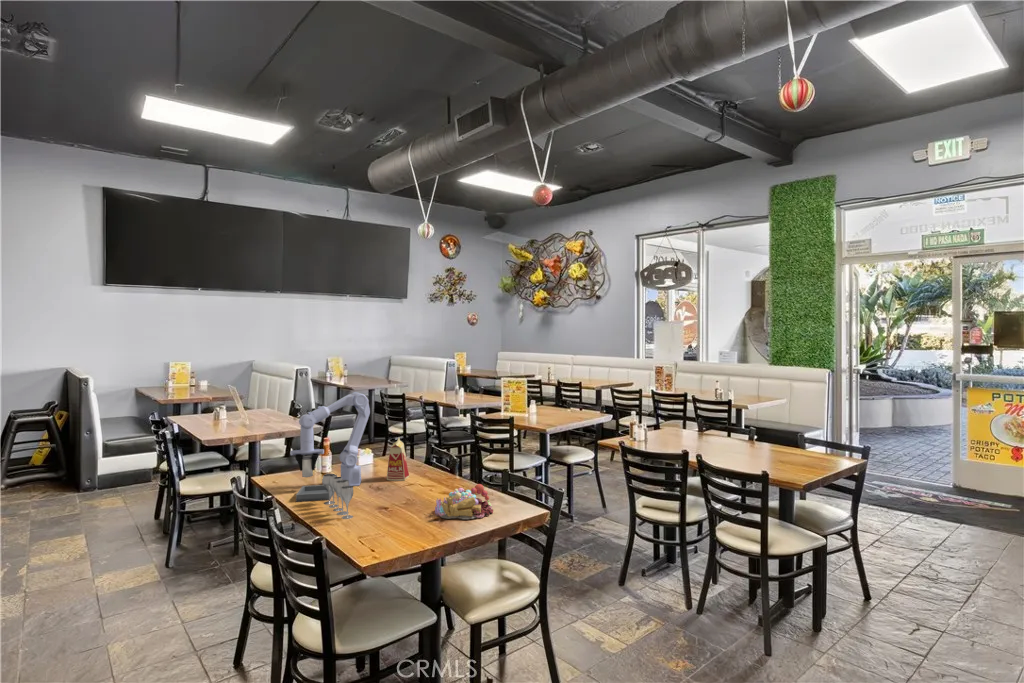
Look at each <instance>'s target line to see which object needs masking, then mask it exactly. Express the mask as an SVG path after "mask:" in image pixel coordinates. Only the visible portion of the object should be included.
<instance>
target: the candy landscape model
mask: <svg viewBox="0 0 1024 683" xmlns="http://www.w3.org/2000/svg"><path fill="white" fill-rule="evenodd" d="M453 490H454V491H451V492H449V493H448V496H446V497H444V498H443V500H442V499H441V497H440V498H438V497H437V498H436V501H435V502H436V505H435V507H434V513H435V515H436V517H438V516H439V517H440V518H442V519H448V520H449V519H459V520H470V519H477V518H484V517H485V516H488V517H490V514H494V509H493V508H492V507H493V505H492V503H491V502H490V496H488V491H487V490H485V488H484V485H483V484H481V483H477V484H476V485H475V486H474V487H472V488H471V489H466V490H465V489H464V488H463V487H458V488H455V489H453ZM476 494H477V495H481V497H483V498H484V500H482V499H481V498H478V497H477V495H476Z"/></svg>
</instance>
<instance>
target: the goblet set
mask: <svg viewBox="0 0 1024 683" xmlns="http://www.w3.org/2000/svg"><path fill="white" fill-rule="evenodd" d="M321 482H322V484H321V485H324V486H325V487H326V488H327V489H328V492H329V500H327V501H325V502H323V505H326V506H328V508H331V509H332V508H333V509H332V511H333V512H336V515H337V516H341V519H343V520H350V519H353V518H354V516H353V515H352V514H351V515H349V506H350V505H349V504H350V502H351V500H352V498H353V496H354V486H349V481H348V480H342V477H341V476H338V475H337V474H335V473H326V474H324V475H323V476H322V479H321ZM331 490H332V492H333V495H332V500H331V499H330V491H331ZM335 494H336V498H337V502H339V500H341V507H339V504H335V503H336V501H335ZM339 498H340V499H339ZM344 503H345V505H346V511H345V510H344Z"/></svg>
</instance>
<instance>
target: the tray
mask: <svg viewBox="0 0 1024 683" xmlns="http://www.w3.org/2000/svg"><path fill="white" fill-rule="evenodd" d="M332 498H333V492H332V490H331V491H330V500H331V499H332ZM316 501H318V502H319V501H320V502H321V501H329V492H328V489H327V488H326V487H325V486H324V485H323V484H317V485H316V484H314V485H302V486H301V487H300V489H299V490H298V491H297V493H296V494H295V503H296V502H297V503H298V502H316Z"/></svg>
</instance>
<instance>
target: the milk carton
mask: <svg viewBox="0 0 1024 683" xmlns="http://www.w3.org/2000/svg"><path fill="white" fill-rule="evenodd" d="M386 470H387V471H386V472H387V473H386V480H387V481H393V482H394V481H395V482H398V481H406V480H407V479H408V478H410V472H409V468H408V462H407V454H406V450H405V444H404V442H403V441H402V440H401V439H400V437H398V438H397V441H395V442H393V443H392V445H391V447H390V448H389V456H388V462H387V469H386Z"/></svg>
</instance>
